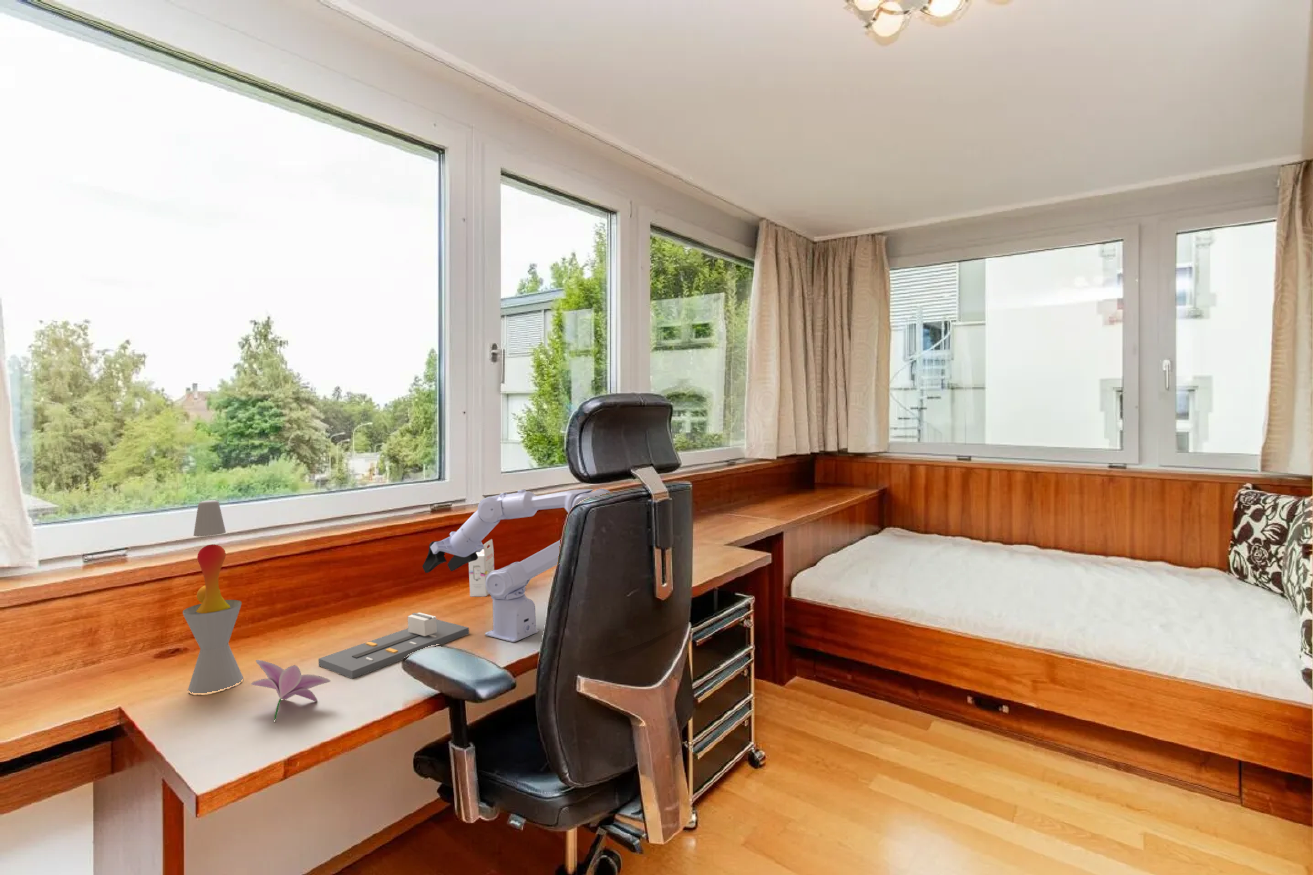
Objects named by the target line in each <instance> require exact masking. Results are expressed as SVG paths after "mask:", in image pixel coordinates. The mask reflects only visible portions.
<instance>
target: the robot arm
mask: <svg viewBox="0 0 1313 875" xmlns="http://www.w3.org/2000/svg"><path fill="white" fill-rule="evenodd" d="M610 492H611V491H610V490H608V489H605V488H599V489H596V490H594V489H593V488H592V489H591V488H588V489H587V488H586V489H585V488H584V489H571V490H566V491H565V490H564V491H560V492H559V491H558V492H553V493H547V494H546V493H545V494H541V495H536V494H535V493H534V492H532V491H530V490H528V491H526V489H525V488H523V489H518V490H517V492H513V493H507V492H501V493H499V494H497V495H492V496H487V497H485V498H482V499H481V500H480V501H479V503H478V505H477V510H475V511H474V512H473V514H472V515H471V516H470V517H469V518H467V520H466V521H465V522H464V523H463V524H461V526H460V527H459V529H457V530H456V531H451V532H450V533H449V536H448V537H446V538H444V539H442V540H433V541H431V542H430V543H429V545H428V553H427V554H426V558H425V560H424V562H423V564H422V569H423V571H424V573H425V574H428V573H430V572H432V571H433V570H434V569H435V568H437V567H438V566H440V565H441V564H443V563H446V562H447V558H446V557H445V555H446V553H447V554H450V555H453V556H452V557H451V558H450V560H449V561H448V562H447V566H448V569H449V571H450V572H454V571H455V570H457V569H459V568H460V567H462V566H464V565H465V564H469V562H471V561H475V560H477V559H478V556H477V554H476V552H481V551H482V549H484V546H483V545H484V544H483V542H482V541H483V540H484V539H485V537H487V536H488V535H489V533H490V532H491V531H492V530H494V528H495V527H496V526H497V525H499V523H500V521H501V520H513V519H520V518H522V519H523V518H528V517H529V518H530V517H534V516H535V514H536V513H537V511H539V510H540V511H541V510H551V509H552V510H553V509H561V508H564V510H565V511H566V512H567V513H568V514H569V511H570V509H571V508H572V507H574V506H575V505H576V504H578V503H579V502H580V501H582V500H584V499H586V498H588V497H595V496H600V495H602V494H606V493H610ZM560 540H561V539H559V540H558V541H556V542H554V543H552V544H550V545H548V546H547V547H545V548H543V549H541V550H540V551H537V552H536V553H534V554H532V555H530V556H528V557H526V558H524V559H523V560H521V561H515V562H512V563H510V564H508V565H505V566H504V567H501V568H499V569H494V571H492V572H490V573H489V574H488V576H487V577H486V581H485V585H486V589H487V591H488V593H489V594H488V595H490V599H491V600H492V624H493V625H492V626H493V629H491V630H489V631H486V632H485V634H484V635H485V636H487V637H491V638H495V639H500V640H503V641H507V642H511V643H516V642H518V641H520V640H523V639H525V638H527V637H529V636H533V635H534V634H537V633H539V629H537V627H536V626H537V622H536V620H537V618H536V605H535V602H534V600H532V599H530V598H528V597H527V596H526V594H525V592H526V587H527V586H528V584H529V583H530V581H531V580H532V579H533V578H536V577H537V576H538V575H540V574H542V573H545V572H546V571H548V570H550V569H553V567H555V566H558V565H557V562H558V556H559V546H560Z"/></svg>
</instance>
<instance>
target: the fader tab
mask: <svg viewBox="0 0 1313 875" xmlns="http://www.w3.org/2000/svg"><path fill="white" fill-rule="evenodd" d="M436 619H437V616H435V615H431V614H426V613H423V612H413V613H411V614H410V615H407V628H408V632H412V633H415V634H419V635H422V636H427V635H430V634H433V633H436V632H437V630H436Z"/></svg>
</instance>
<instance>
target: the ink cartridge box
mask: <svg viewBox="0 0 1313 875" xmlns="http://www.w3.org/2000/svg"><path fill="white" fill-rule="evenodd" d="M483 546H484V548H483V549H482V551H481V552H476V554H477V556H478V559H477V560H475V561H471V562H468V577H469V578H468V579H469V597H470V598H471V597H472V598H473V597H487V596H488V595H490V594H489V593H488V591H487V589H486V585H485V581H486V577H487V576H488V574H489V573H490V572H492V571H495V556H494V554H495V552H494V551H495V549H494V542H493V539H492V538H491V539H489V540H488V541H486V542H485V543H484V544H483Z"/></svg>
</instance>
